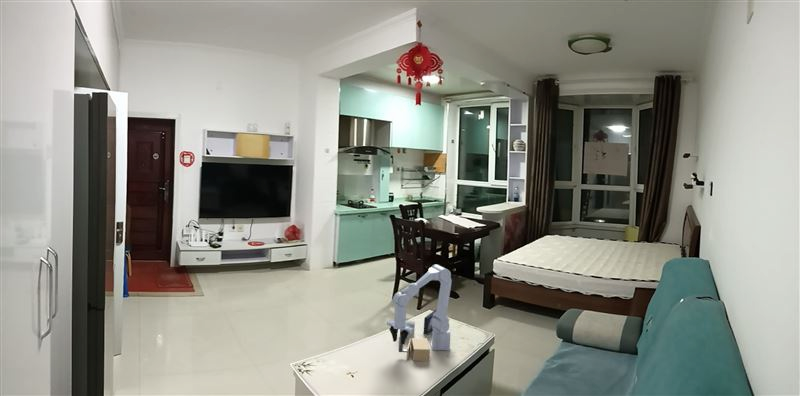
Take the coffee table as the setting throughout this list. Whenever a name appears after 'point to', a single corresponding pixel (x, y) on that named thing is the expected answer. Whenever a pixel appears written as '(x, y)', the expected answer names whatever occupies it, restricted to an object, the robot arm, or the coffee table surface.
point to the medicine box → (411, 325)
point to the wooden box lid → (402, 347)
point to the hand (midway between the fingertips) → (398, 342)
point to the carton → (420, 349)
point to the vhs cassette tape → (428, 323)
